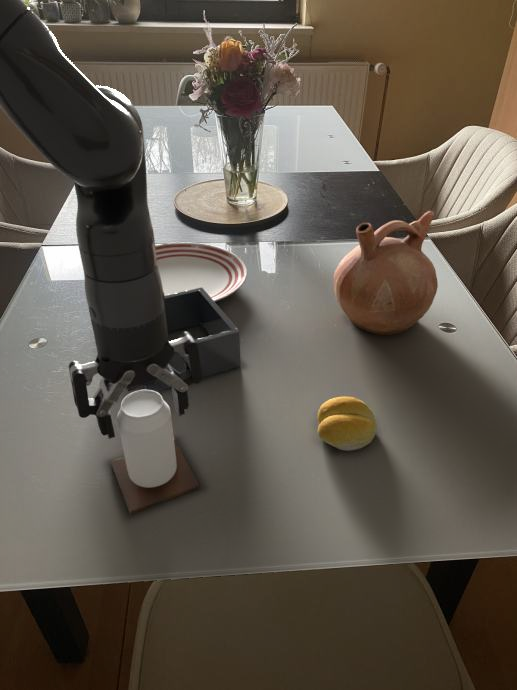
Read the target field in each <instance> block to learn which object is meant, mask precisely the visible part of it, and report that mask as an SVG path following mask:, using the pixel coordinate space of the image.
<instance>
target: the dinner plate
mask: <svg viewBox="0 0 517 690" xmlns="http://www.w3.org/2000/svg"><path fill="white" fill-rule="evenodd" d="M155 248H156V257H157V265H158V270H159V273H160V277H161V281H162V287H163V292H164V295H165V296H167V295H171V294H175V293H179V292H184V291H188V290H192V289H197V288H201V287H202V288H203V289H204V290H205V291H206V292H207V294H208V295H209V296H210V297H211V298H212V299H213V301H214V302H215V303H216V302H218V301H221V300H223V299H225V298H227V297H229V296H231V295H233V294H234V293H236V292H237V291H238V290H239V289H240V288H242V286H243V285H244V284H245V282H246V280H247V277H248V269H247V266H246V265H245V263H244V261H243V260H242V258H240V257H239V256H238V255H236V254H235V253H233V252H232V251H229V250H227V249H225V248H222V247H220V246H216V245H211V244H207V243H199V242H183V241H182V242H167V243H159V244H155Z"/></svg>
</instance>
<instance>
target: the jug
mask: <svg viewBox="0 0 517 690" xmlns="http://www.w3.org/2000/svg"><path fill="white" fill-rule="evenodd" d="M435 215H436V214H435V212H434V211H433V210H428V211H426V212H424V214H423V215H421V216H420V218H419V219H418V220H414V221H412V222H410V223H408V222H406V221H403V220H398V219H397V220H391V221H388V222H387V223H384V224H383V225H382V226H380V227H379V228H378V229H376V230H374V228H373V225H372V223H369V222H362V223H360V224H359V225H357V227H356V228H355V234H356V237H357V241H358V245H357V246H356V247H354V248H353V249H352V250H350V251H349V252H348V253H347V254H346V255H345V256H344V257H343V258H342V259H341V261H339V263H338V265H337V267H336V269H335V270H334V274H333V291H334V295H335V296H334V297H335V299H336V301H337V303H338V304H339V306H340V308H341V310H342V311H343V313H344V314H345V315H346V316H347V318H348V320H349V321H351V323H352V324H353V325H354V326H356V327H357V328H359V329H361V330H363V331H365V332H368V333H370V334H374V335H380V336H381V335H382V336H384V335H385V336H389V335H397V334H401V333H402V332H404V331H406V330H408V329H409V328H410V327H412V326H413V325H414V324H416V323H418V322H419V321H420V320H421V319H422V318H423V317H424V316H425V315H426V314H427V313H428V311H429V310H430V308H431V306H432V304H433V303H434V300H435V297H436V294H437V292H438V287H439V284H438V283H439V281H438V276H437V271H436V267H435V266H434V263H433V262H432V261H431V259H430V258H429V257H428V256H427V255H426V254H425V253H424V252H423V250H422V247H423V243H424V241H425V239H426V236H427V233H428V231H429V229H430V226H431V224H432V222H433V220H434V219H435ZM396 232H403V233H405V234H407V236H406V237H405V238H403V239H400V238H396V237H390V235H392V234H394V233H396Z"/></svg>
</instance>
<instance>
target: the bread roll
mask: <svg viewBox="0 0 517 690" xmlns="http://www.w3.org/2000/svg"><path fill="white" fill-rule="evenodd" d="M317 422H318V427H317V434H318V437H319V438H320V440H322V441H323V442H324V443H326V444H328V445H329V446H332V447H334V448H336V449H338V450H340V451H347V452H350V451H356V450H360V449H362V448H365V447H366V446H368V445H369V444H370V443H371V442H372V441H373V440H374V438H375V436H376V433H377V429H378V428H377V426H378V425H377V422H376V418H375V415H374V413H373V411H372V409H371V408H370V407H369V405H368V404H367V403H366V402H364V401H362V400H361V399H359V398H356V397H352V396H338V397H333V398H330V399H327V400H326V401H325V402H324V403H322V404H321V405H320V407H319V409H318V412H317Z"/></svg>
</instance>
